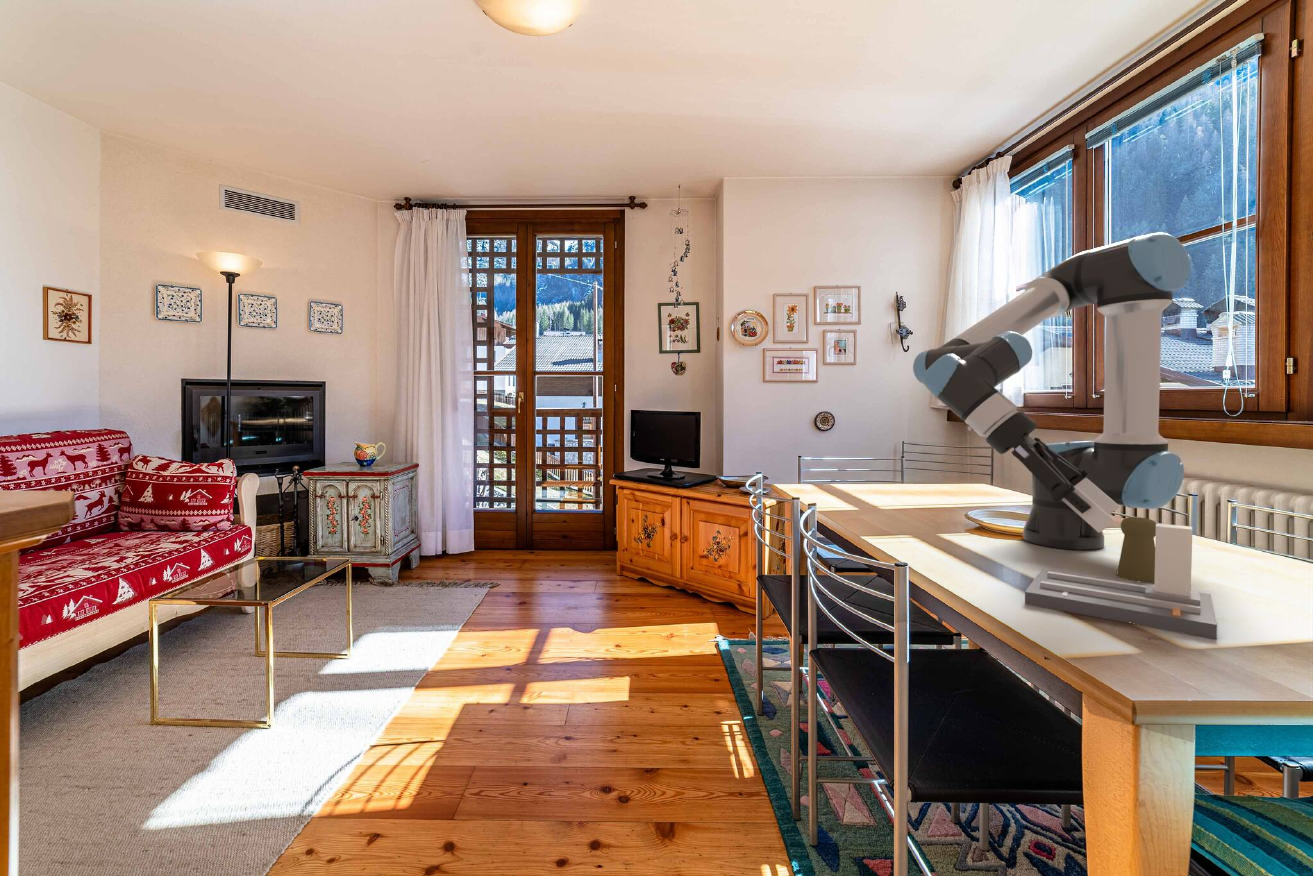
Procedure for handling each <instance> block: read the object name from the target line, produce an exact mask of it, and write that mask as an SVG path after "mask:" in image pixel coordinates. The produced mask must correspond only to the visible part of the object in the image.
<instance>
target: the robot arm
mask: <svg viewBox="0 0 1313 876" xmlns="http://www.w3.org/2000/svg"><path fill="white" fill-rule="evenodd" d="M1190 274H1191V263H1190V257H1189V254H1188V252H1187V250H1186V248H1185V246H1184V245H1183V244H1182V243H1181V242H1180V240H1179V239H1178V238H1177V237H1175V236H1173V235H1171V234H1169V233H1165V232H1155V233H1149V234H1146V235H1137V236H1134V237H1132V238H1127V239H1124V240H1122V241H1117V242H1114V243H1111V244H1107V245H1102V246H1100V247H1095V248H1092V249H1088V250H1085V251H1082V252H1079V253H1076V254H1075V255H1073V256H1071V257H1068V258H1067V259H1064V260H1063V261H1062V262H1060V263H1059V264H1056V265H1054V267H1052V268H1050V269H1048V270H1047V271H1046V272H1044V273H1042V274H1040V275H1038V277H1036V278H1035V279H1033V280H1031V281H1030V282H1029V283H1028V284H1027V286H1026V287H1025V291H1023V292H1022V293H1021V294H1019V295H1018V296H1016V297H1014V298H1013V299H1012V300H1011V299H1010V301H1009V302H1007V303H1005V304H1004V305H1002V306H1000V307H999V308H998V309H996V310H995V311H993V312H992V313H989V315H987V316H986V317H984V318H982V319H981V320H980V321H978V322H976V323H975V324H973V325H972V326H970V327H969V328H968V329H966V330H964V331H963V332H961V333H960V334H958V335H956V336H955V337H954V338H952V339H951V340H949V341H947V342H946V343H944V344H943V345H941V346H940V347H938V348H930V349H928V350H924V351H921V352H920V353H918V354H917V355H916V357H915V358H914V361H913V364H912V371H913V374H914V377H915V378H916V380H917V381H918V382H919V383H921V384H923V385H924V386H925V387H926V388H927V390H928V391H929V392H931V394H933V396H934V398H936V399H938V400H939V401H940V402H941V403H942V404H943V405H945V406H946V407H947V408H948V409H949V410H950V411H951V412H952V413H954V415H956V416H957V417H959V419H960V420H962V422H965V424H967V425H969V426H967V430H968V431H969V432H972V431H974V432H976V434H977V435H979V436H980V437H986V438H985V440H986V443H987V444H988V445H989V446H990V447H991V448H992V449H994V450H995V451H996V452H997V453H998V454H1000V455H1003V454H1006V453H1007V452H1008V451H1010V450H1012V449H1013V450H1012V451H1011V452H1010V453H1011V454H1012V456H1013V457H1016V458H1017V460H1018V461H1019V462H1020V463H1022V465H1024V467H1025V468H1026V469H1027V470H1028V471H1029V472H1030V473H1031V476H1032V477H1031V478H1032V480H1031V481H1032V484H1031V485H1032V504H1031V510H1030V512H1029V514H1028V517H1027V519H1026V521H1025V524H1024V526H1023V529H1022V533H1023V534H1022V538H1023V540H1024V541H1026V542H1028V543H1031V544H1035V545H1039V546H1043V547H1049V548H1057V549H1066V550H1085V551H1086V550H1097V549H1102V548H1104V547H1105V534H1104V532H1103V531H1104V530H1105V529H1107V528H1108V527H1110V526H1111V525H1113V524H1114V523H1116V520H1115V519H1114V518H1113V517H1112V516H1111V514H1112V513H1113V512H1115V511H1117V510H1118V509H1120V508H1121V506H1123V507H1127V508H1129V509H1146V510H1148V509H1149V510H1155V509H1159V508H1162V507H1164V506H1166V505H1168V504H1169V503H1170V502H1172V500H1173V499H1174V498H1175V497H1176V496H1177V494H1178V493H1179V491H1180V489H1181V487H1182V484H1183V481H1184V478H1185V477H1184V476H1185V466H1184V463H1183V462H1181V461H1182V458H1181V457H1180V456H1179V455H1178V454H1177V453H1173V452H1172V451H1170V450H1169V441H1168V440H1167V439H1166V438H1164V437H1163V436H1162V435H1161V434H1160V432H1159V425H1160V424H1159V422H1160V421H1159V420H1160V392H1161V391H1160V390H1161V389H1160V387H1161V385H1160V384H1161V357H1162V356H1161V354H1162V352H1161V351H1162V350H1161V349H1162V347H1161V346H1162V313H1163V312H1164V310H1165V309H1167V308H1168V307H1169V306H1170V305H1171V304H1172V303H1173V294H1174V292H1176V291H1178V290H1180V289H1182V288H1183V287H1184V286H1185V285H1186V284H1187V282H1188V280H1189V279H1190ZM1093 305H1096V311H1098V313H1100V314H1101V315H1103V316H1104V317H1105V348H1104V349H1105V351H1104V354H1105V355H1104V356H1105V357H1104V388H1103V389H1104V393H1103V396H1104V397H1103V399H1104V400H1103V432H1102V433H1101V434H1100V435H1099V436H1098V437H1096V438H1095V439H1093V440H1083V441H1082V440H1081V441H1069V442H1068V441H1067V442H1053V443H1045V442H1044V441H1043V440H1041V439H1040V438H1039V437H1037V436H1036V437H1034V438H1033V437H1031V436H1030V434H1032V432H1034V430H1035V429H1036V428H1037V427H1038V426H1037V422H1035V420H1033V419H1032V418H1031V417H1030V416H1029V415H1027V414H1026V412H1024V411H1021V410H1020V411H1018V410H1017V409H1018V405H1016V404H1015V403H1014V402H1012V401H1011V400H1010V399H1009V398H1008V397H1007V396H1005V395H1004V394H1003V393H1002V392H1001V391H999V390H998V389H996V388H995V387H997V386H999V384H1000V385H1001V383H1003V382H1004V381H1006V380H1008V379H1009V378H1010V377H1012V376H1013V375H1016V374H1018V373H1019V372H1020V371H1021V370H1022V369H1023V368H1024V367H1025V366H1027V365H1028V364H1029V363H1030V361H1031V360H1032V358H1033V348H1032V345H1031V343H1030V341H1029V340H1028V339H1027V338H1026V337H1025V336H1024V335H1025V334H1026V333H1028V332H1029V331H1030V330H1032V329H1033V328H1035V327H1036V326H1038V325H1040V324H1041V323H1042V322H1044V321H1046V320H1047V319H1053V318H1055V319H1056V318H1057V317H1059V316H1060V317H1061V315H1063V314H1064V313H1066V312H1067V311H1071V310H1074V309H1077V308H1083V307H1087V306H1093Z"/></svg>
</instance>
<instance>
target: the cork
mask: <svg viewBox="0 0 1313 876" xmlns="http://www.w3.org/2000/svg"><path fill="white" fill-rule="evenodd" d="M1156 523H1157V522H1156V521H1155V520H1153V519H1150V518H1147V517H1139V516H1138V517H1137V516H1136V517H1135V516H1133V517H1126V518H1124V519H1122V520H1121V522H1120V530H1121V532H1122V533H1123V535H1124V536H1123V540H1122V545H1121V552H1120V555H1119V556H1120V557H1119V562H1118V568H1117V570H1116V571H1117V572H1116V576H1117V577H1118V578H1121V579H1122V580H1123V579H1124V580H1127V579H1128V580H1127V581H1130V582H1132V581H1133V582H1137V581H1140V582H1139V583H1146V584H1150V583H1152V584H1153V583H1154V581H1155V538H1156Z"/></svg>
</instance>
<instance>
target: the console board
mask: <svg viewBox="0 0 1313 876" xmlns="http://www.w3.org/2000/svg"><path fill="white" fill-rule="evenodd" d="M1146 584H1147V583H1141V582H1134V581H1133V582H1132V581H1125V580H1119V579H1113V578H1104V577H1099V576H1093V575H1091V576H1090V575H1085V574H1078V573H1073V572H1072V573H1071V572H1066V571H1065V572H1064V571H1059V570H1058V571H1056V570H1051V569H1044V568H1042V569H1040V571H1039V572H1038V573H1037V575H1036V576H1035V577H1034V579H1033V580H1032V582H1031V583H1029V586H1027V589H1026V590H1025V591H1024V604H1025V605H1028V606H1029V605H1030V606H1034V607H1041V608H1046V609H1051V610H1057V611H1061V612H1067V613H1074V614H1078V615H1083V616H1084V615H1085V616H1089V617H1093V618H1094V617H1095V618H1099V617H1100V619H1106V620H1109V621H1110V620H1112V621H1116V622H1122V623H1126V622H1131V623H1135V624H1134V625H1137V624H1139V625H1138V626H1142V625H1143V626H1142V627H1149V628H1154V629H1159V630H1165V631H1170V632H1175V633H1179V634H1180V633H1181V634H1187V635H1192V636H1197V637H1202V638H1207V639H1214V640H1217V638H1218V634H1217V633H1218V623H1217V618H1216V614H1215V608H1214V602H1213V599H1212V597H1213V596H1212V593H1207V592H1202V591H1201V592H1200V591H1198V592H1199V594H1200V606H1195V605H1189V604H1183V603H1176V602H1170V601H1164V600H1157V599H1151V598H1145V590H1146ZM1131 623H1130V624H1131Z"/></svg>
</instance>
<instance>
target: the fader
mask: <svg viewBox="0 0 1313 876" xmlns="http://www.w3.org/2000/svg"><path fill="white" fill-rule="evenodd" d="M1154 543H1155V581H1154V584H1150V583H1145V584H1146V590H1145V598H1151V599H1157V600H1164V601H1170V602H1176V603H1183V604H1189V605H1195V606H1200V594H1199V592H1200V591H1197V590H1192V558H1193V557H1192V556H1193V555H1192V554H1193V526H1190V525H1189V526H1188V525H1178V524H1169V523H1168V524H1166V523H1157V522H1156V536H1155V537H1154Z"/></svg>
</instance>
